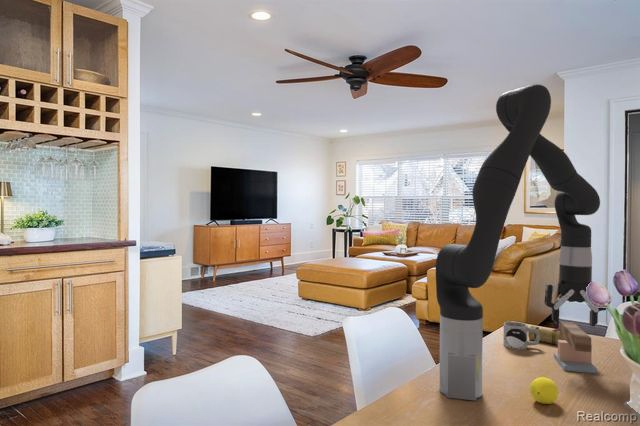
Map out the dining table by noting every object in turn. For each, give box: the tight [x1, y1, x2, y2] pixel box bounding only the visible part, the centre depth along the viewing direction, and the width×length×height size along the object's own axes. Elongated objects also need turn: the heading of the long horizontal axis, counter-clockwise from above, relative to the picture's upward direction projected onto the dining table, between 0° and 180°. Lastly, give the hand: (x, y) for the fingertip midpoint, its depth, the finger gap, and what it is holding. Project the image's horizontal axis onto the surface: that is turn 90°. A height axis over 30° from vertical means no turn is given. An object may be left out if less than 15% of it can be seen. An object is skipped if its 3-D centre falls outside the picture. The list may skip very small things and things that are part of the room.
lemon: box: [529, 376, 559, 405], centre depth 96 cm, size 7×5×5 cm
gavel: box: [527, 325, 565, 347], centre depth 146 cm, size 21×5×10 cm
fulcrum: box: [553, 340, 598, 374], centre depth 120 cm, size 11×8×6 cm
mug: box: [502, 321, 540, 351], centre depth 135 cm, size 10×7×7 cm
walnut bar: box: [559, 321, 592, 352], centre depth 120 cm, size 16×4×4 cm, turn 165°
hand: (574, 324), depth 120 cm, fingers open, 8 cm apart
